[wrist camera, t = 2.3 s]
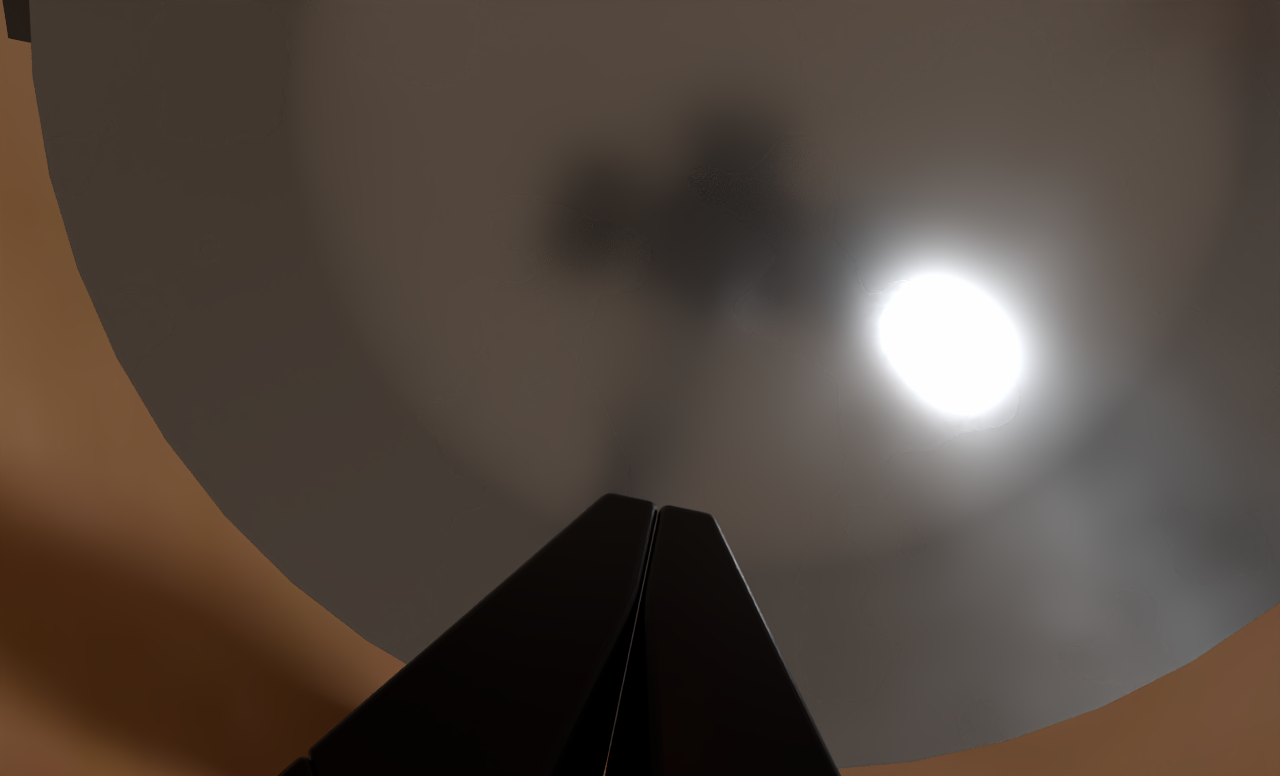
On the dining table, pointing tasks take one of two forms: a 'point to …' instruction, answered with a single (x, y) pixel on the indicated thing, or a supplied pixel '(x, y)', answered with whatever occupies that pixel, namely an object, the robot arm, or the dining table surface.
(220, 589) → the dining table surface
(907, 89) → the lid
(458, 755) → the robot arm
